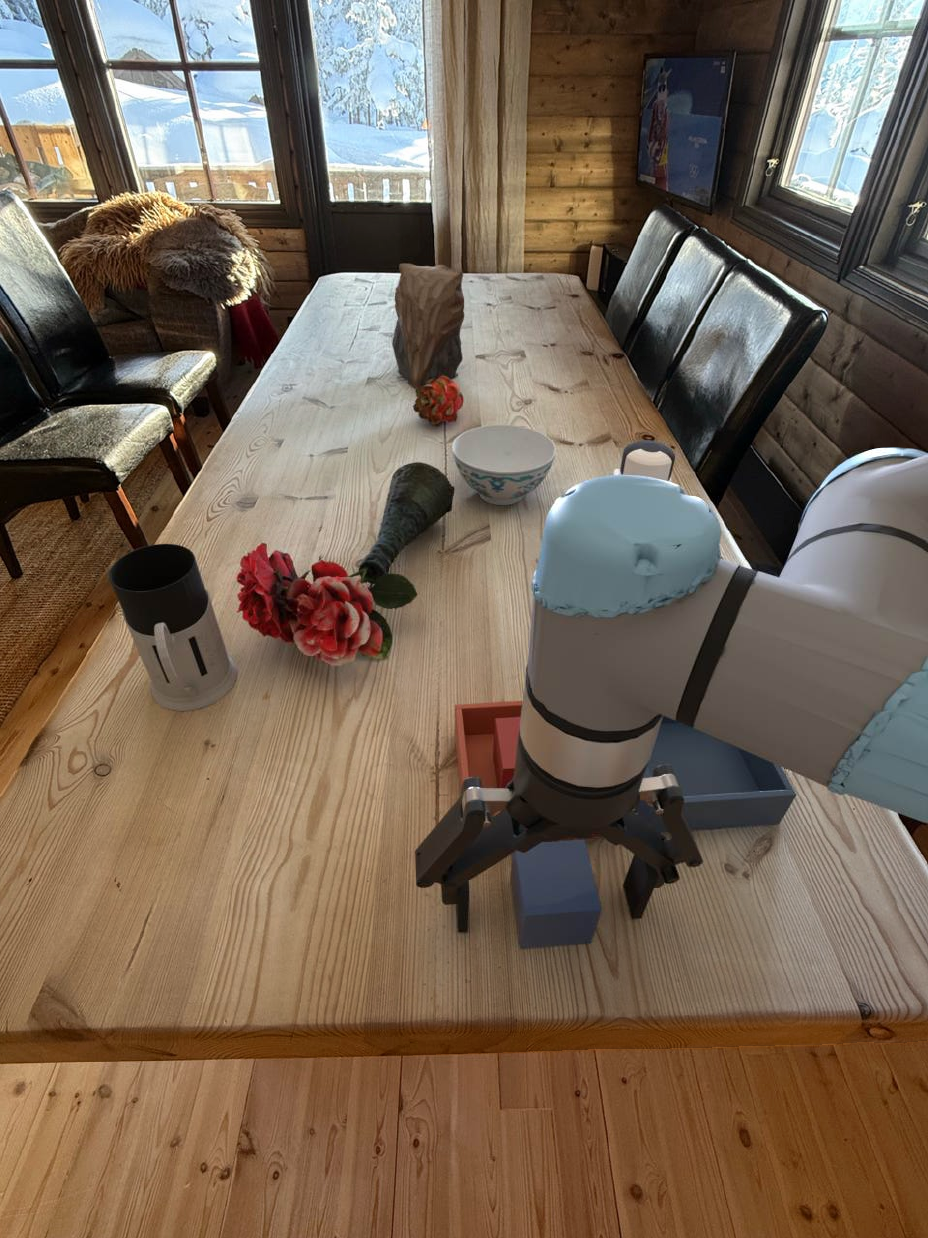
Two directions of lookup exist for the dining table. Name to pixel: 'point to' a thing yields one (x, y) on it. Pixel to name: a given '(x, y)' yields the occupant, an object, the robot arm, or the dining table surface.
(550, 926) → the blue block
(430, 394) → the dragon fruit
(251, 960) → the dining table surface
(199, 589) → the glass holder
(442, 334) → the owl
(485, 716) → the red bin
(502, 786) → the red block
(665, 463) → the container
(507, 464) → the chinaware
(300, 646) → the flower vase
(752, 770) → the blue bin
